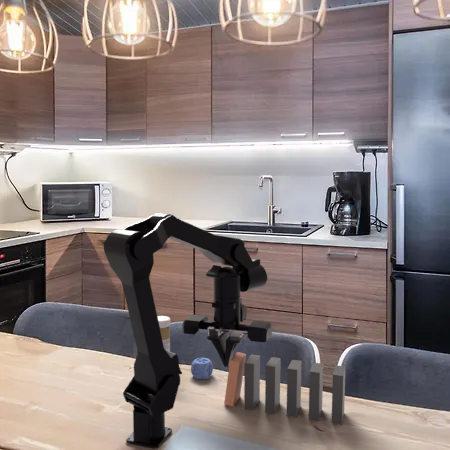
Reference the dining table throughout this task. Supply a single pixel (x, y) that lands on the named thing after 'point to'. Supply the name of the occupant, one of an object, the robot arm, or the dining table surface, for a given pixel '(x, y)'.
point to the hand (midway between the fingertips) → (226, 366)
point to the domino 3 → (272, 385)
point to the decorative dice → (202, 368)
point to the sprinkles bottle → (165, 331)
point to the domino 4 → (294, 388)
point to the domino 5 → (315, 391)
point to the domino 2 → (252, 382)
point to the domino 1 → (235, 379)
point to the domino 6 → (338, 394)
